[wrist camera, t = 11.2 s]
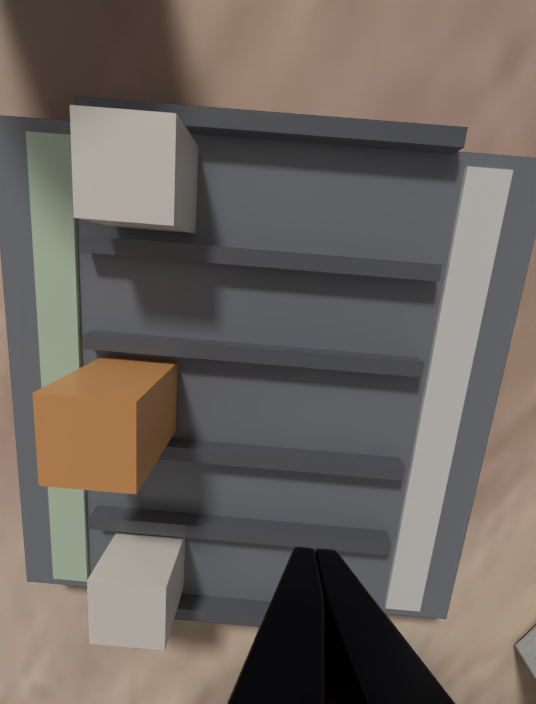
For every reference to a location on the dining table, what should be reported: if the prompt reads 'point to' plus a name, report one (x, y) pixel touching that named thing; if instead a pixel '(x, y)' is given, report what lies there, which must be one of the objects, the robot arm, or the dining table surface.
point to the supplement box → (528, 650)
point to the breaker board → (262, 346)
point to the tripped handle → (105, 424)
